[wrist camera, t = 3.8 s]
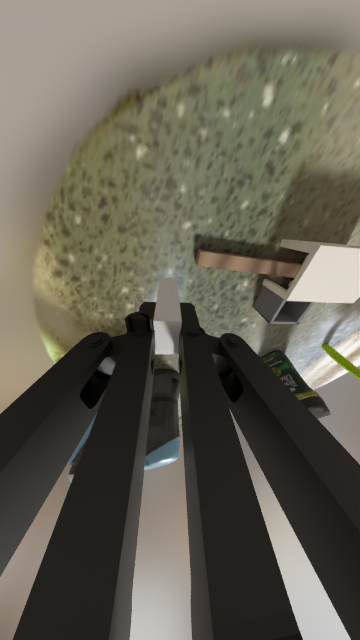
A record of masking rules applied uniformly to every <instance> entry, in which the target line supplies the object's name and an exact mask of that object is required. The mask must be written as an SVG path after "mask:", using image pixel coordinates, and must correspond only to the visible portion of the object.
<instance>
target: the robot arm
mask: <svg viewBox="0 0 360 640" xmlns="http://www.w3.org/2000/svg"><path fill="white" fill-rule="evenodd" d="M125 322H126V327H127V331H128V332H127V333H126V334H124V335H121V336H116V337H112V338H111V337H110V336H109V334H107V333H104V332H97V333H92V334H90V335H88V336H86V337H85V338H83V339H82V340H81V341H80V342H79V343H78V344H76V345H75V346H74V347H73V348H72V349H71V350H70V351H69V352H68V353H67V354H66V355H64V356H63V357H62V358H61V359H60V360H59V361H58V362H57V363H56V364H55V365H53V366H52V368H50V369H49V370H48V371H47V372H46V373H45V374H44V375H43V376H42V377H41V378H39V379H38V380H37V381H36V382H35V383H34V384H33V385H32V386H31V387H29V388H28V389H27V390H26V391H25V392H24V393H23V394H22V395H21V396H20V397H18V398H17V399H16V400H15V401H14V402H13V403H12V404H11V405H10V406H9V407H8V408H7V409H5V410H4V411H3V412H2V413H1V414H0V576H1V574H2V573H3V571H4V569H5V568H6V566H7V564H8V563H9V561H10V559H11V557H12V556H13V554H14V552H15V551H16V549H17V547H18V546H19V544H20V542H21V541H22V539H23V537H24V536H25V534H26V532H27V530H28V529H29V527H30V525H31V524H32V522H33V520H34V519H35V517H36V515H37V513H38V512H39V510H40V508H41V507H42V505H43V503H44V502H45V500H46V498H47V497H48V495H49V493H50V492H51V490H52V488H53V486H54V485H55V483H56V481H57V480H58V478H59V476H60V475H61V473H62V471H63V470H64V468H65V466H66V464H67V463H68V464H69V465H72V467H71V469H70V472H69V475H68V479H69V481H70V484H71V485H70V487H69V490H68V493H67V495H66V498H65V501H64V503H63V506H62V509H61V511H60V514H59V517H58V519H57V522H56V525H55V528H54V530H53V533H52V536H51V538H50V541H49V544H48V546H47V549H46V552H45V554H44V557H43V560H42V562H41V565H40V568H39V570H38V573H37V576H36V578H35V581H34V584H33V587H32V589H31V592H30V595H29V597H28V600H27V603H26V605H25V608H24V611H23V614H22V616H21V619H20V622H19V624H18V627H17V630H16V632H15V635H14V638H13V640H129V637H130V627H131V612H132V587H133V575H134V566H135V555H136V546H137V536H138V525H139V516H140V506H141V496H142V485H143V476H144V470H147V469H152V468H155V467H159V466H162V465H166V464H169V463H172V462H173V461H175V460H177V458H178V457H179V453H180V433H179V415H178V397H179V393H180V397H181V414H182V431H183V447H184V466H185V482H186V500H187V515H188V516H187V517H188V532H189V533H188V534H189V551H190V568H191V622H192V640H303V639H302V636H301V634H300V631H299V628H298V625H297V622H296V619H295V616H294V613H293V611H292V607H291V604H290V601H289V598H288V595H287V591H286V588H285V585H284V582H283V579H282V575H281V572H280V569H279V566H278V563H277V559H276V557H275V553H274V550H273V547H272V543H271V541H270V537H269V534H268V531H267V528H266V524H265V521H264V518H263V515H262V512H261V508H260V505H259V502H258V499H257V496H256V492H255V489H254V486H253V483H252V480H251V477H250V473H249V470H248V467H247V464H246V461H245V457H244V454H243V451H242V448H241V445H240V441H239V438H238V435H237V432H236V429H235V426H234V423H233V419H232V416H231V413H230V410H231V412H232V414H233V416H234V418H235V420H236V422H237V424H238V426H239V427H240V429H241V431H242V433H243V435H244V437H245V439H246V441H247V442H248V444H249V447H250V448H251V450H252V452H253V454H254V456H255V458H256V460H257V462H258V464H259V465H260V467H261V469H262V471H263V473H264V475H265V477H266V479H267V481H268V483H269V484H270V486H271V488H272V490H273V492H274V494H275V496H276V498H277V499H278V502H279V503H280V505H281V507H282V509H283V511H284V513H285V515H286V517H287V519H288V521H289V522H290V524H291V526H292V528H293V530H294V532H295V534H296V536H297V538H298V540H299V541H300V543H301V545H302V547H303V549H304V551H305V553H306V555H307V556H308V559H309V560H310V562H311V564H312V566H313V568H314V570H315V572H316V574H317V575H318V578H319V579H320V581H321V583H322V585H323V587H324V589H325V591H326V593H327V594H328V597H329V598H330V600H331V602H332V604H333V606H334V608H335V610H336V612H337V614H338V616H339V617H340V619H341V621H342V623H343V625H344V627H345V629H346V631H347V632H348V635H349V636H350V638H351V640H360V465H359V464H358V462H357V461H356V460H355V459H354V458H353V457H352V456H351V455H350V454H349V453H348V452H347V451H346V449H345V448H344V447H343V446H342V445H341V444H340V443H339V442H338V441H337V440H336V439H335V438H334V437H333V435H332V434H331V433H330V432H329V431H328V430H327V429H326V428H325V427H324V426H323V425H322V424H321V423H320V422H319V420H318V419H317V418H316V417H315V416H314V415H313V414H312V413H311V412H310V411H309V410H308V409H307V408H306V406H305V405H304V404H303V403H302V402H301V401H300V400H299V399H298V398H297V397H296V396H295V395H294V394H293V393H292V391H291V390H290V389H289V388H288V387H287V386H286V385H285V384H284V383H283V382H282V381H281V380H280V379H279V377H278V376H277V375H276V374H275V373H274V372H273V371H272V370H271V369H270V368H269V367H268V366H267V365H266V364H265V362H264V361H263V360H262V359H261V358H260V357H259V356H258V355H257V354H256V353H255V352H254V351H253V350H252V348H251V347H250V346H249V345H248V344H247V343H246V342H245V341H244V340H243V339H242V338H241V337H239V336H237V335H235V334H231V333H225V334H223V335H222V336H221V337H220V338H217V337H213V336H210V335H208V334H206V333H205V331H204V329H202V328H201V327H200V325H199V321H198V318H197V315H196V311H195V307H194V306H193V305H192V304H191V303H180V302H179V294H178V286H177V278H160V283H159V289H158V295H157V301H156V302H144V303H143V304H142V305H141V306H140V309H139V312H135V313H131V314H129V315H128V316H127V317H126V318H125ZM178 353H179V361H178V369H179V374H178V373H176V372H174V371H171V370H166V369H159V370H154V366H155V354H178ZM72 463H73V464H72Z"/></svg>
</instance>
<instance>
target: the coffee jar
mask: <svg viewBox="0 0 360 640" xmlns="http://www.w3.org/2000/svg"><path fill="white" fill-rule="evenodd" d="M261 359H262V360H263V361H264V362H265V364H266V365H267V366H268V367H269V368H270V369H271V370H272V371H273V372H274V373H275V374H276V375H277V376H278V377H279V379H280V380H281V381H282V382H283V383H284V384H285V385H286V386H287V387H288V388H289V389H290V390H291V391H292V393H293V394H294V395H295V396H296V397H297V398H298V399H299V400H300V401H301V402H302V403H303V404H304V405H305V406H306V408H307V409H308V410H309V411H310V412H311V413H312V414H313V415H314V416H315V417H316V418H317V419H318V418H321V417H324V416H328V415H330V411H329V409H328V408H327V406H326V405H325V403H324V401H323V400H322V398H321V397H320V396H319V394H318V393H316V392H315V391H313V390H312V389H311V388H310V387H309V386H308V385H307V384H306V383H305V381H304V380H303V379H302V378H301V376H300V375H299V373H298V372H297V371H296V369H295V368H294V366H293V365H292V363H291V362H290V360H289V359H288V358H287V356H286V355H285V354H284V353H283V352H280V351H275V352H272V353H270V354H268V355H266V356H264V357H262V358H261Z"/></svg>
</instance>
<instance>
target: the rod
mask: <svg viewBox="0 0 360 640" xmlns="http://www.w3.org/2000/svg"><path fill="white" fill-rule="evenodd" d="M196 264H197V266H203V267H211V268H219V269H228V270H236V271H244V272H252V273H260V274H268V275H276V276H284V277H293V278H295V277H296V275H297V273H298V272H299V270H300V268H301V267H302V265H303V264H300V263H294V262H287V261H280V260H272V259H265V258H258V257H251V256H244V255H237V254H229V253H222V252H215V251H208V250H201V249H198V253H197V258H196Z"/></svg>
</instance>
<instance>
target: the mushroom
mask: <svg viewBox="0 0 360 640" xmlns="http://www.w3.org/2000/svg"><path fill="white" fill-rule="evenodd" d="M322 348H323V349H324V350H325V351H326V352H327V353H328V354H329V355H330V356H331V357H332V358H333V359H334V360H335V361H336V362H337V363H338V364H340V365H341V366H342V367H343V368H345V369H346V370H347V371H349V372H350V373H352V374H353V375H354V376H355V377H357V378H358V379H359V380H360V370H359V369H358V368H357V367H356V366H354V365H353V364H352V363H350V362H349V361H348V360H347V359H345V358H344V357H343V356H342V355H341V354H339V353H338V352H337V351H336V350H334V349H333V348H332V347H331V346H329V345H328V344H324V345H323V346H322Z"/></svg>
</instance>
